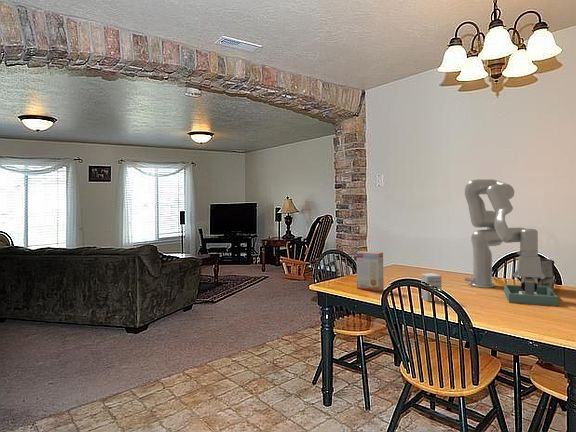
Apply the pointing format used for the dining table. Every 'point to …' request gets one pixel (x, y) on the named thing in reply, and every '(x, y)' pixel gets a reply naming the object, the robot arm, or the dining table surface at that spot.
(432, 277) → the supplement box
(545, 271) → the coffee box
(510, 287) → the walled box
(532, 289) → the connector
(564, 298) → the dining table surface
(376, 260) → the cracker box
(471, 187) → the robot arm
